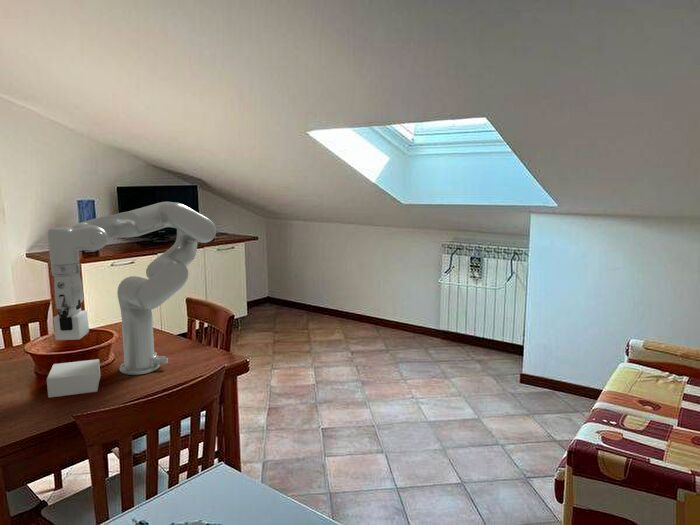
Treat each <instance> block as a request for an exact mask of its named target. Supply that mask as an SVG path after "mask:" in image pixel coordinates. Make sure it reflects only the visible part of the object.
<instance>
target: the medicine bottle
mask: <svg viewBox="0 0 700 525" xmlns="http://www.w3.org/2000/svg"><path fill="white" fill-rule="evenodd" d="M81 304H82V303H81V302H80V299H79V300H78V305H77V306H76V307H75V308H71V311H70V317H72V327H73V329H72V330H65V331H61V330H60V321H59V314H58V313H57V315H55V316H53V318H52V320H53V321H52V322H53V330H54V339H55V341H69V340H71V341H72V340H75V341H76V340H81V339H82V338H84V336H86V335H87V334H88V333H90V329H89V328H90V327H89V317H88V316H89V315H88V310H82V305H81ZM63 307H68V305H63ZM65 311H66V312H67V310H65Z"/></svg>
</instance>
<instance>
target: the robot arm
mask: <svg viewBox="0 0 700 525" xmlns="http://www.w3.org/2000/svg"><path fill="white" fill-rule="evenodd" d="M165 228H173V229H176V238H175V241H174V243H173V244H172V246H171V247H170V248H168V249H167V250H166V251H165V252H163V253H162V254H160V255H159V256H157V258H155V259H153V260H152V262H150V263H149V264H148V265H147V268H145V275H146V277H147V278H144V277H141V276H136V275H134V276H133V275H132V276H127V277H125V278H123V280H121V281H120V283H119V284H118V287H117V299H118V305H119V309H120V315H121V332H122V346H123V347H122V348H123V362H124V363H122V364H121V365H119V372H120V373H122V374H124V375H131V376H139V375H145V374H149V373H151V372H154V371H156V370H158V369H159V368H160V364H168V361H169V359H168V357H166V355H157V354H158V353H157V351H155V343H154V342H155V341H154V325H153V324H154V321H153V310H155V309H156V308H158V307H160V306H162V305H163V304H164V303H165V302H167V300H169V299H170V298H171V297H172V296H174V295H175V294H177V292H178V291H180V290H181V289H182V288H183V287H184V286H185V284H186V282H187V280H188V278H189V270H188V266H189V265H190V264H191V263H192V262H193V261H194V259H195V257H196V256H197V249H198V243H202V244H206V243H209V242H212V241H213V240H214V239H215V237H216V234H217V228H216V225H215V223H214V222H213V221H212V220H211V219H210V218H208V217H207V216H205V215H204V214H201V213H199V212H198V211H196V210H194V209H192V208H191V207H189V206H187V205H185V204H183V203H180V202H176V201H174V202H173V201H161V202H157V203H154V204H150V205H146V206H143V207H140V208H135V209H132V210H129V211H123V212H119V213H115V214H109V215H104V216H100V217H97V218H96V217H95V218H92V219H89V220H85V221H82V222H79V223H76V224H74V225H73V226H67V227H66V226H60V227H59V226H58V227H52V228H49V229H48V231H47V241H48V249H49V261H50V270H51V276H53V277H54V278H53V280H54V282H53V287H54V303H55V306H56V308H55V309H56V311H57V315H58V314H59V321H60V330H61V331H65V330H72V329H73V327H72V317H70V311H71V308H75V307H76V306H77V305H78V300H79V299H80V302H81V304H82V303H83V302H84V299H85V298H84V291H83V290H84V289H83V282H82V277H81V264H80V254H79V253H80V252H79V251H97V250H100V249H103V248H104V247H105V246H106V245H107V243H108V240H110V239H116V238H117V239H118V238H134V237H141V236H143V235H147V234H150V233H152V232H156V231H159V230H163V229H165ZM63 305H68V307H63ZM65 310H67V312H66V311H65Z"/></svg>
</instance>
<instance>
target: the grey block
mask: <svg viewBox="0 0 700 525" xmlns="http://www.w3.org/2000/svg"><path fill="white" fill-rule="evenodd" d="M100 366H101V364H100V359H99V358H96V359H89V360H88V359H87V360H77V361H72V362H71V361H69V362H60V363H53V365H52V367H51V369H50V371H49V373H48V374H47V377H46V385H47V386H46V387H47V397H48V398H54V397H55V398H56V397H64V396H71V395H72V396H73V395H79V394H87V393H88V394H89V393H96V392H98V389H99V385H100V379H101V368H100Z"/></svg>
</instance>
